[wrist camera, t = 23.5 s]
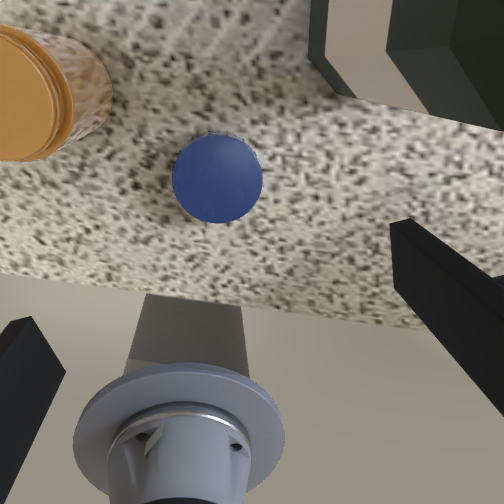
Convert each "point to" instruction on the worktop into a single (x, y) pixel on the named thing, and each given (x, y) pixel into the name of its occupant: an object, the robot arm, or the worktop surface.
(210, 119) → the worktop surface
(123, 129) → the worktop surface
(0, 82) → the jam jar
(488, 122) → the wine bottle
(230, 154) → the jam lid
